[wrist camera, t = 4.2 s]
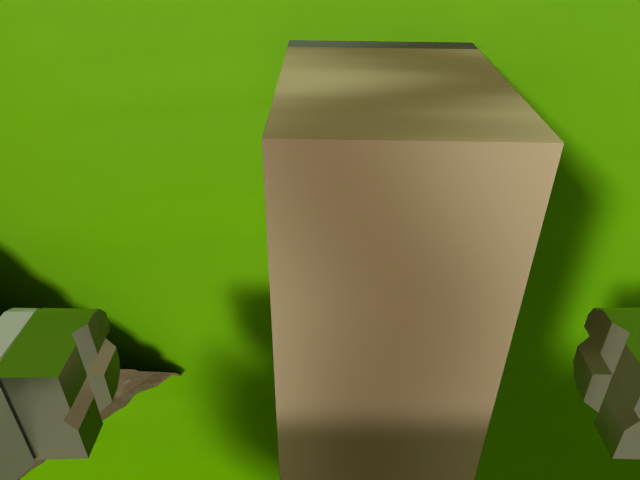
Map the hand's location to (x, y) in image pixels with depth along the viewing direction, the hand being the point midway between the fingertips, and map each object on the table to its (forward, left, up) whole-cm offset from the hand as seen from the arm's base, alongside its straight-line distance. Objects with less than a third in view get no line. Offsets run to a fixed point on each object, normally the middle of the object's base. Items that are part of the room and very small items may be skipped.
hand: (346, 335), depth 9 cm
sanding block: (-1, -1, -4) cm, 4 cm away
